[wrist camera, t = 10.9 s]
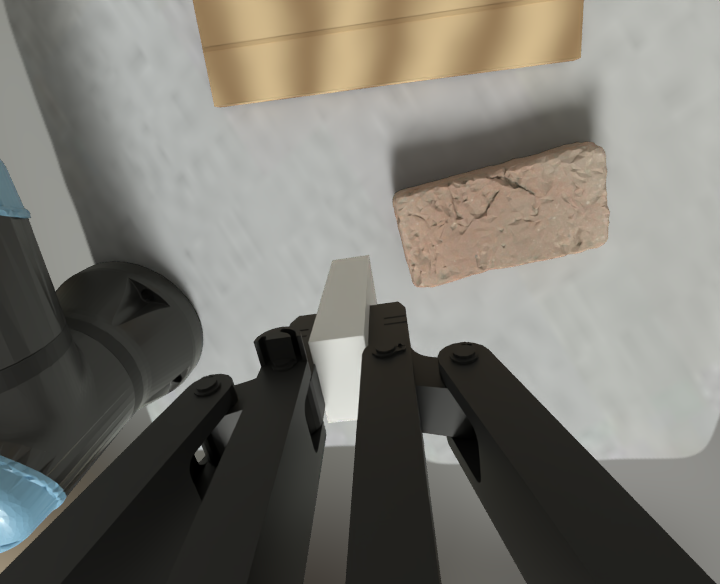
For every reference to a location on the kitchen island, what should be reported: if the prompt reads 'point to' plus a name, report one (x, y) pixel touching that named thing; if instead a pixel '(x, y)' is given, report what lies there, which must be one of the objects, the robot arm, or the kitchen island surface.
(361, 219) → the kitchen island surface
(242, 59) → the plank
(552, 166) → the brick
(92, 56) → the kitchen island surface
